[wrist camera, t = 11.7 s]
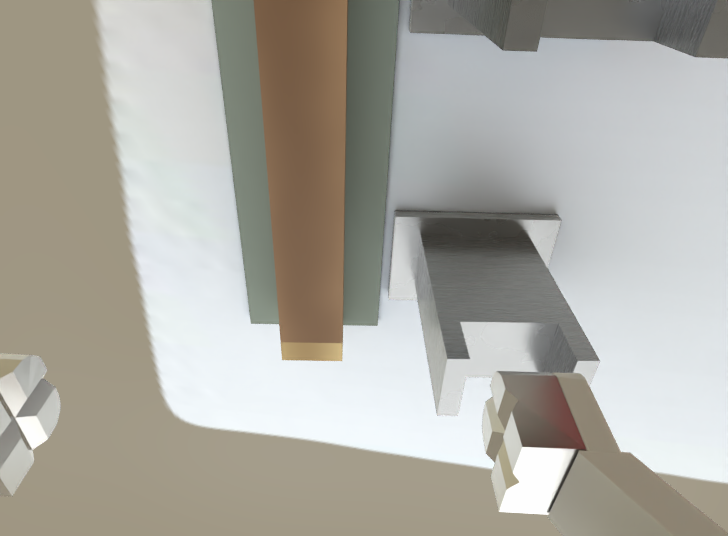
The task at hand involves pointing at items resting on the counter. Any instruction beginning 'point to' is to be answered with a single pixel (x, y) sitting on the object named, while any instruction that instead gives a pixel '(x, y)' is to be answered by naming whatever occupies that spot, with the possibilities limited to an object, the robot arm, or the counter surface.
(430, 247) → the post
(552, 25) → the post
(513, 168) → the counter surface
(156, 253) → the counter surface
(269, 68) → the rail
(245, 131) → the mat
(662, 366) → the counter surface
